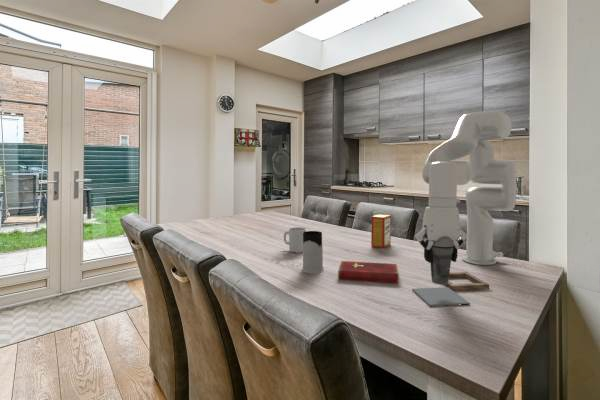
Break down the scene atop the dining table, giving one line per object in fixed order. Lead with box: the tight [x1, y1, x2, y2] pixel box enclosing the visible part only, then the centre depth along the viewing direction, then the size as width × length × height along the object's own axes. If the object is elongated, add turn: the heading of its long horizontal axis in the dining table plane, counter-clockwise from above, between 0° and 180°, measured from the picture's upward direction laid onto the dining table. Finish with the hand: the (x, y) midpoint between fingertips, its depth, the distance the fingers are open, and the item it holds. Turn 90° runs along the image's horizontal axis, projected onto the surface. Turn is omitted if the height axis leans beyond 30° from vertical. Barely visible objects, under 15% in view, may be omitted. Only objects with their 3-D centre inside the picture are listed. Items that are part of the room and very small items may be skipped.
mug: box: [283, 226, 307, 254], centre depth 153 cm, size 12×8×11 cm
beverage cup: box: [430, 236, 454, 286], centre depth 94 cm, size 7×7×20 cm
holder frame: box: [444, 271, 490, 291], centre depth 107 cm, size 13×13×2 cm
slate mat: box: [411, 286, 471, 307], centre depth 95 cm, size 12×12×1 cm
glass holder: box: [301, 230, 325, 274], centre depth 125 cm, size 9×14×15 cm, turn 160°
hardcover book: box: [337, 260, 400, 285], centre depth 115 cm, size 12×21×4 cm, turn 76°
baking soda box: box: [370, 213, 392, 249], centre depth 159 cm, size 10×6×16 cm
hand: (440, 260), depth 94 cm, fingers closed on beverage cup, 6 cm apart
